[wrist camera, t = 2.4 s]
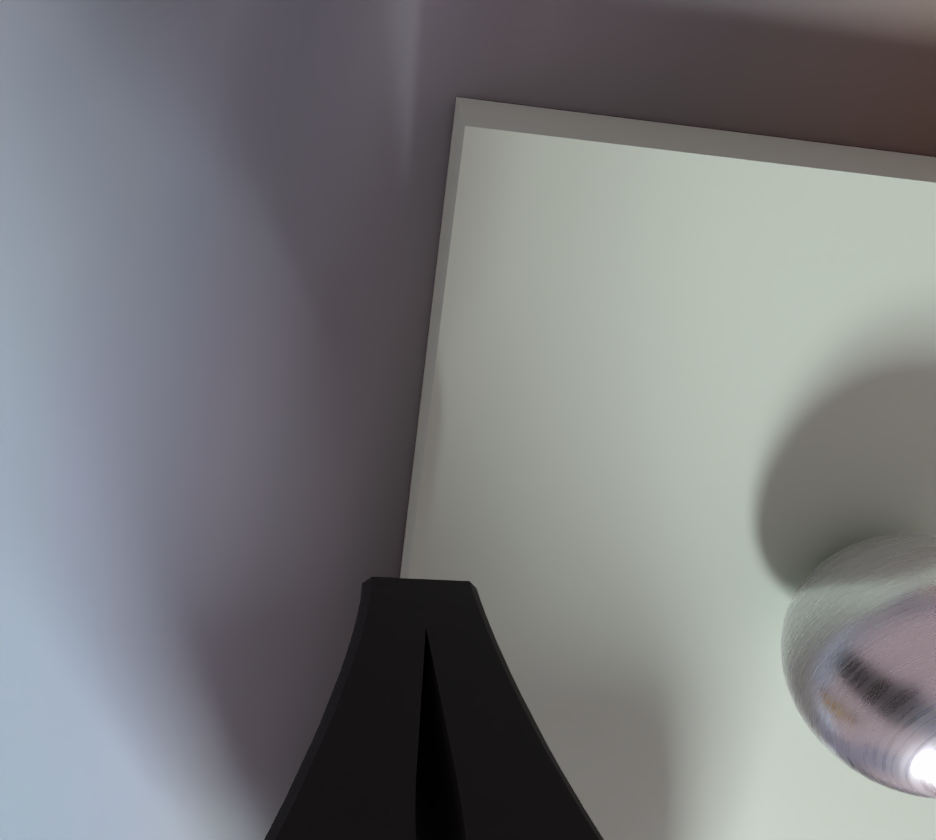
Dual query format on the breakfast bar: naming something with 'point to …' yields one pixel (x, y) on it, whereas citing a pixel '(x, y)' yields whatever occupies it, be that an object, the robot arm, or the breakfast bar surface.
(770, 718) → the hole plate
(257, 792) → the breakfast bar surface
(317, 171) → the breakfast bar surface
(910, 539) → the steel ball
